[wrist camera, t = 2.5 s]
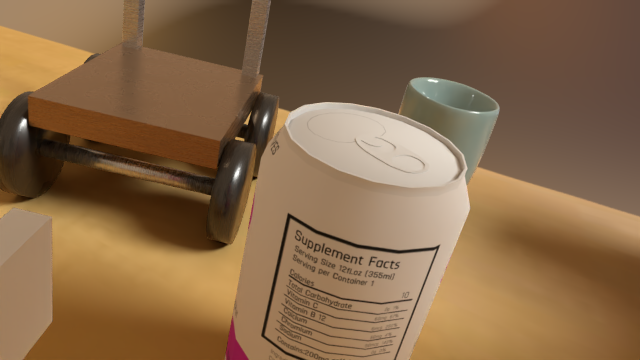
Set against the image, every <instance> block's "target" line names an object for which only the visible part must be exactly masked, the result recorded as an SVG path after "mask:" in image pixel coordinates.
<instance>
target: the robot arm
mask: <svg viewBox="0 0 640 360" xmlns="http://www.w3.org/2000/svg"><path fill="white" fill-rule="evenodd" d="M52 321H53V311H52V217H51V216H47V215H42V214H38V213H34V212H30V211H26V210H22V209H17V208H12V209H11V210H10V211H9V212H8V213H6V214H5V215H4V216H3V217H2V218H0V360H23V359H24V357H25V356H26V355H27V353H28V352H29V351H30V350H31V348H32V347H33V346H34V344H35V343H36V342H37V341H38V339H39V338H40V337H41V335H42V334H43V333H44V332H45V330H46V329H47V328H48V326H49V325H50V324H51V322H52Z"/></svg>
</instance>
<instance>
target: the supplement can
mask: <svg viewBox="0 0 640 360" xmlns="http://www.w3.org/2000/svg"><path fill="white" fill-rule="evenodd" d="M467 169H468V168H467V165H466V161H465V158H464V155H463V154H462V153H461V152H460V150H459V149H458V148H457V147H456V146H455V145H454V144H453V143H452V142H451V141H450V140H448V139H447V138H445V137H444V136H442V135H441V134H439V133H437V132H436V131H434V130H433V129H431V128H430V127H427V126H425V125H423V124H421V123H418V122H416V121H414V120H412V119H409V118H407V117H405V116H401V115H398V114H395V113H391V112H388V111H385V110H382V109H379V108H373V107H368V106H362V105H357V104H351V103H331V102H324V103H316V104H309V105H304V106H302V107H300V108H298V109H296V110H294V111H292V112H290V114H289V116H288V118H287V120H286V122H285V124H284V126H283V127H282V128H281V129H280V130H279V131H278V132H277V134H276V135H275V136H274V137H273V138H272V139H271V140H270V142H269V143H268V145H267V147H266V149H265V151H264V153H263V155H262V157H261V161H260V167H259V172H258V178H257V183H256V189H255V194H254V200H253V205H252V211H251V216H250V222H249V227H248V233H247V238H246V244H245V249H244V255H243V260H242V266H241V272H240V277H239V283H238V288H237V294H236V299H235V305H234V310H233V316H232V321H231V327H230V332H229V338H228V343H227V349H226V354H225V360H409V359H410V357H411V354H412V352H413V349H414V347H415V344H416V342H417V339H418V337H419V334H420V332H421V329H422V327H423V325H424V322H425V320H426V317H427V315H428V312H429V310H430V307H431V305H432V302H433V300H434V297H435V295H436V292H437V290H438V287H439V285H440V282H441V280H442V277H443V275H444V273H445V270H446V268H447V265H448V263H449V260H450V258H451V255H452V253H453V250H454V248H455V245H456V243H457V240H458V238H459V235H460V233H461V230H462V228H463V226H464V223H465V221H466V218H467V216H468V213H469V211H470V204H469V198H468V192H467V186H466V180H465V174H466V171H467Z"/></svg>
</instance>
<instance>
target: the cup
mask: <svg viewBox="0 0 640 360" xmlns="http://www.w3.org/2000/svg"><path fill="white" fill-rule="evenodd" d="M498 113H499V106H498V104H497V103H496V102H495V101H494V100H493V99H492V98H490V97H489V96H487V95H485V94H484V93H482V92H480V91H478V90H476V89H473V88H471V87H468V86H466V85H463V84H460V83H457V82H453V81H449V80H444V79H438V78H428V77H424V78H415V79H412V80H411V81H410V82H409V84H408V86H407V88H406V91H405V94H404V97H403V100H402V104H401V107H400V110H399V113H398V115H401V116H405V117H407V118H409V119H412V120H414V121H416V122H418V123H421V124H423V125H425V126H427V127H430V128H431V129H433V130H434V131H436V132H437V133H439V134H441V135H442V136H444V137H445V138H447V139H448V140H450V141H451V142H452V143H453V144H454V145H455V146H456V147H457V148H458V149H459V150H460V152H461V153H462V154H463V155H464V158H465V161H466V165H467V168H468V169H467V171H466V174H465V180H466V186H467V185H468V184H469V182H470V180H471V178H472V176H473V174H474V173H475V171H476V168H477V166H478V164H479V162H480V159H481V157H482V155H483V153H484V150H485V147H486V145H487V143H488V140H489V138H490V135H491V132H492V130H493V127H494V125H495V122H496V119H497V116H498Z"/></svg>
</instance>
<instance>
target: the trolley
mask: <svg viewBox="0 0 640 360" xmlns="http://www.w3.org/2000/svg"><path fill="white" fill-rule="evenodd" d="M270 2H271V0H253V1H252V8H251V15H250V21H249V29H248V35H247V41H246V48H245V55H244V61H243V68H242V70H239V69H234V68H230V67H226V66H222V65H217V64H213V63H209V62H205V61H200V60H197V59H192V58H188V57H184V56H180V55H175V54H171V53H167V52H163V51H158V50H154V49H150V48H146V47H142V38H143V22H144V5H145V0H124V13H123V38H122V43H120V44H118V45H117V46H115V47H113V48H111V49H110V50H108V51H106V52H104V53H102V54H94V55H92V56H90V57H89V58H88V59H87V60H86V61H85V62H84V64H83V65H81V66H79V67H78V68H76V69H74V70H72V71H71V72H69V73H67V74H65V75H63V76H62V77H60V78H58V79H56V80H55V81H53V82H51V83H49V84H48V85H46V86H44V87H42V88H40V89H39V90H37V91H35V92H25V93H23V94H21V95H19V96H17V97H16V98H15V99H14V100H13V101H12V102H11V103H10V104H9V105H8V107H7V108H6V110H5V111H4V113H3V114H2V116H1V118H0V189H2V190H3V191H5V192H8V193H13V194H17V195H21V196H26V197H31V198H34V197H38V196H40V195H42V194H43V193H45V192H46V191H47V190H48V189H49V188H50V187H51V186H52V184H53V183H54V182H55V180H56V179H57V177H58V175H59V173H60V171H61V169H62V167H63V164H64V162H65V161H66V162H70V163H75V164H79V165H83V166H87V167H92V168H96V169H100V170H104V171H109V172H113V173H117V174H121V175H126V176H130V177H134V178H139V179H143V180H147V181H151V182H156V183H160V184H164V185H168V186H173V187H177V188H181V189H186V190H190V191H194V192H198V193H203V194H207V195H211V199H210V204H209V210H208V217H207V228H206V232H207V238H208V239H210V240H214V241H219V242H223V243H227V244H232V243H233V241H234V239H235V237H236V235H237V232H238V230H239V227H240V224H241V221H242V218H243V214H244V211H245V207H246V203H247V199H248V195H249V191H250V187H251V182H252V177H253V176H255V177H258V172H259V167H260V161H261V157H262V155H263V153H264V151H265V149H266V147H267V145H268V143H269V142H270V140H271V139H272V138H273V134H274V129H275V124H276V119H277V113H278V105H279V97H277V96H274V95H270V94H266V93H261V92H260V90H261V84H262V78H263V75H259V68H260V62H261V56H262V50H263V44H264V38H265V32H266V26H267V20H268V13H269V8H270ZM251 111H252V112H251ZM250 112H251V115H250V119H249V123H248V125H246V124H244V122H245V121H246V119H247V117H248V116H249V114H250ZM70 135H72V136H76V137H80V138H85V139H89V140H93V141H97V142H102V143H106V144H110V145H114V146H119V147H123V148H127V149H131V150H136V151H140V152H144V153H148V154H153V155H157V156H161V157H165V158H170V159H174V160H178V161H182V162H187V163H191V164H195V165H199V166H204V167H208V168H212V169H217V168H218V166H219V168H218V171H217V175H216V178H212V177H207V176H203V175H199V174H195V173H190V172H186V171H182V170H177V169H173V168H169V167H165V166H160V165H156V164H152V163H148V162H143V161H139V160H135V159H131V158H126V157H122V156H118V155H114V154H109V153H105V152H101V151H97V150H92V149H88V148H84V147H80V146H75V145H71V144H69V142H70ZM235 137H239V138H244V139H245V140H244V141H240V140H235ZM219 164H220V165H219Z"/></svg>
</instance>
